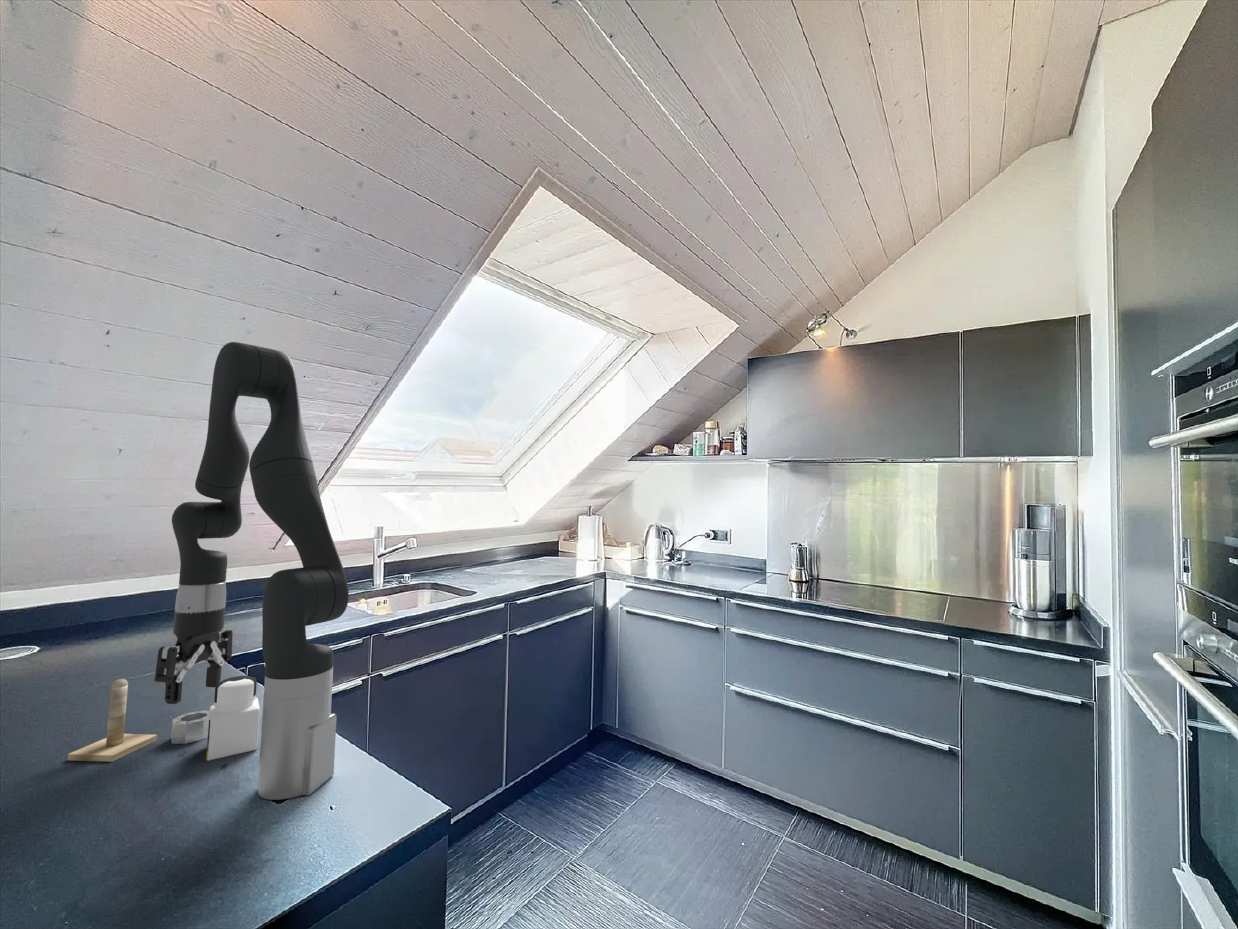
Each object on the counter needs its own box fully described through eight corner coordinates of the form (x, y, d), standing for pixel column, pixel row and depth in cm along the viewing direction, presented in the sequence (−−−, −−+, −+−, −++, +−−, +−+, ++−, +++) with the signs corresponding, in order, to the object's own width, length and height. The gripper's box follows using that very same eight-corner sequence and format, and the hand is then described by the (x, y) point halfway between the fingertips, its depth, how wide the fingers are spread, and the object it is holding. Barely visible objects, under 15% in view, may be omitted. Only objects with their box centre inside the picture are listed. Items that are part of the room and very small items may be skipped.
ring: (221, 730, 100) (222, 711, 100) (194, 744, 94) (195, 724, 94) (191, 729, 100) (192, 710, 100) (162, 743, 94) (163, 723, 94)
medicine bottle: (207, 746, 93) (211, 677, 94) (255, 736, 97) (259, 670, 98) (206, 762, 87) (211, 688, 88) (257, 750, 92) (261, 680, 93)
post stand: (157, 740, 95) (162, 672, 96) (112, 761, 87) (118, 687, 88) (115, 739, 95) (121, 671, 96) (67, 760, 88) (74, 686, 89)
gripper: (187, 615, 91) (179, 710, 90) (248, 600, 106) (242, 682, 104) (146, 614, 92) (137, 708, 91) (212, 599, 106) (206, 681, 105)
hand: (193, 694), depth 97 cm, fingers open, 8 cm apart
